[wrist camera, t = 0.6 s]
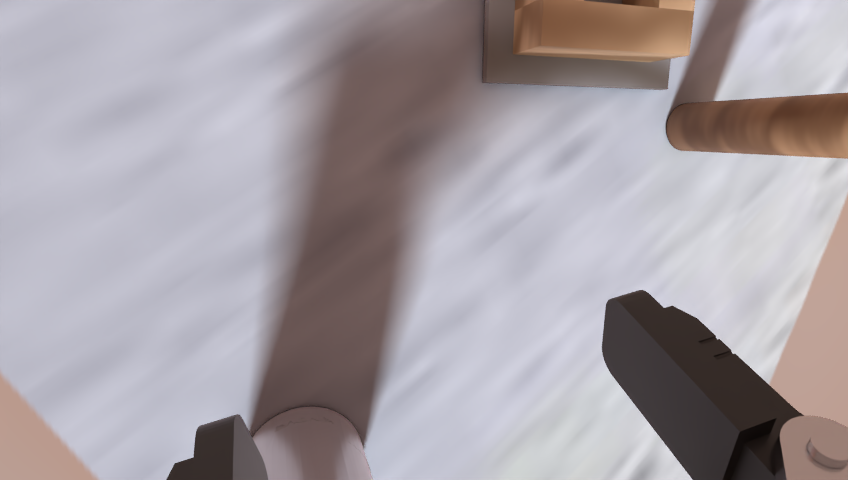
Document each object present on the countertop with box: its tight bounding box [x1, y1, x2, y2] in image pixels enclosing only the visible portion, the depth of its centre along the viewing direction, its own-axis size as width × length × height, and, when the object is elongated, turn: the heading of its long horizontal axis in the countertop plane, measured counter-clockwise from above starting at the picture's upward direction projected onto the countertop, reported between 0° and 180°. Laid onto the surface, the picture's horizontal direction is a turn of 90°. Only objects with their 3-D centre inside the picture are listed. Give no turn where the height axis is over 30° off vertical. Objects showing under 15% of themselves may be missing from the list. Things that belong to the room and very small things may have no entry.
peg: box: [667, 93, 848, 158], centre depth 36 cm, size 4×4×20 cm
